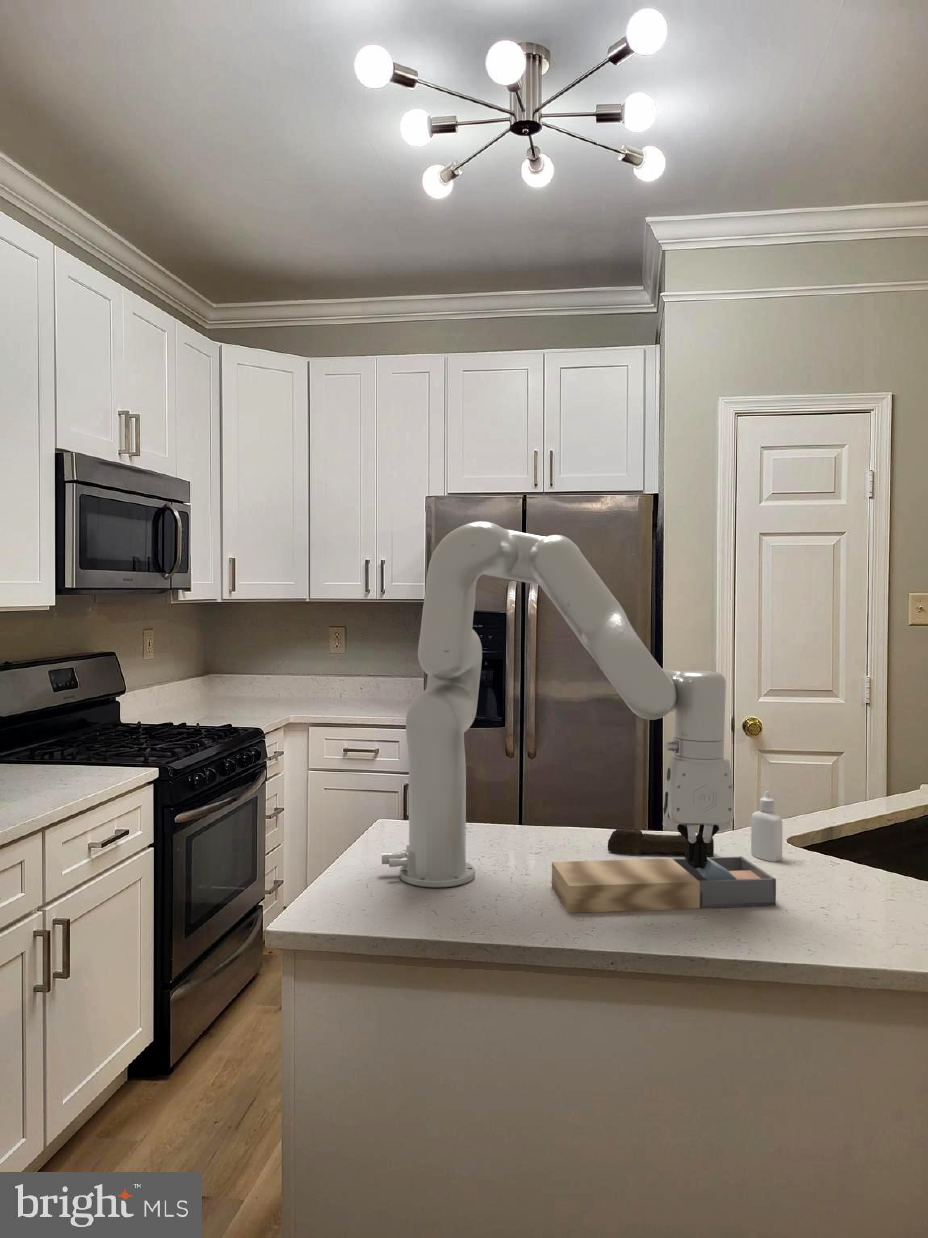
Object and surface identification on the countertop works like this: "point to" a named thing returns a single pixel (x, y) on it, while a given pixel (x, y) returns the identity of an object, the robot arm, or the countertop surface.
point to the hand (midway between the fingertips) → (695, 865)
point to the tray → (734, 885)
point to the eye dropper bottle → (766, 831)
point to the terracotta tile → (744, 874)
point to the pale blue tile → (715, 871)
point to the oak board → (624, 885)
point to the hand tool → (648, 843)
